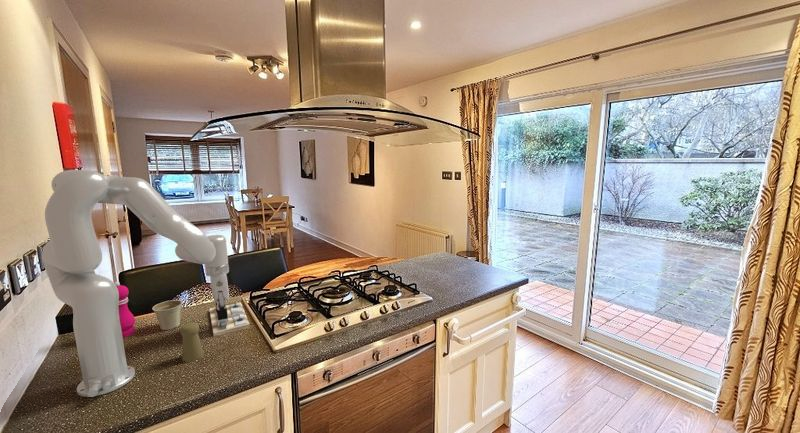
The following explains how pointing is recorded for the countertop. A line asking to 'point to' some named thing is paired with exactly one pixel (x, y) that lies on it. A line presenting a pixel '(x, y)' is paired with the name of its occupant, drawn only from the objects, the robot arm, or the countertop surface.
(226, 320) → the sliding point
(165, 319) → the flower pot
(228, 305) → the gauge board
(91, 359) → the robot arm
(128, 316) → the pepper mill
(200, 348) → the cork
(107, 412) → the countertop surface
